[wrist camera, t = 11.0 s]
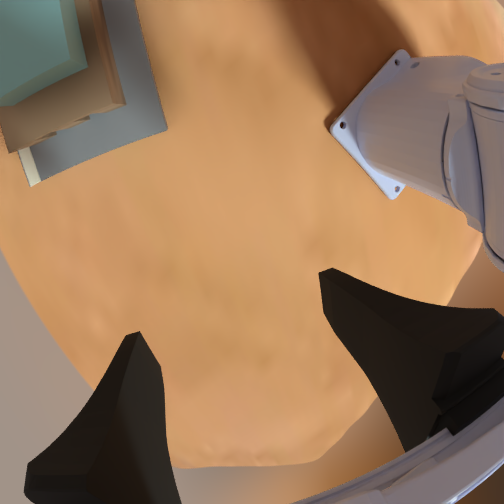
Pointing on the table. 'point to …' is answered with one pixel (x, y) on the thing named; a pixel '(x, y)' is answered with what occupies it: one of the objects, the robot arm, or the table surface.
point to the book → (116, 121)
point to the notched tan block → (69, 89)
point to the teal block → (37, 46)
